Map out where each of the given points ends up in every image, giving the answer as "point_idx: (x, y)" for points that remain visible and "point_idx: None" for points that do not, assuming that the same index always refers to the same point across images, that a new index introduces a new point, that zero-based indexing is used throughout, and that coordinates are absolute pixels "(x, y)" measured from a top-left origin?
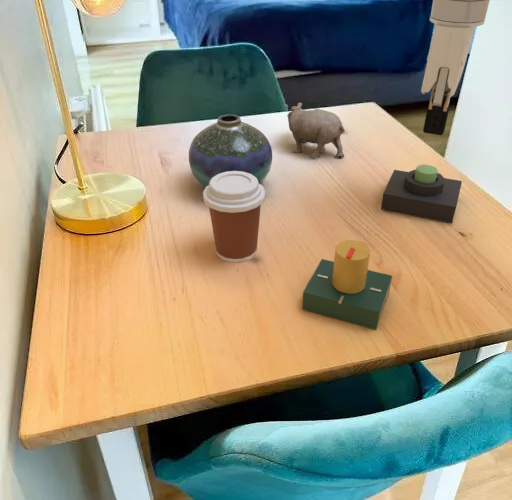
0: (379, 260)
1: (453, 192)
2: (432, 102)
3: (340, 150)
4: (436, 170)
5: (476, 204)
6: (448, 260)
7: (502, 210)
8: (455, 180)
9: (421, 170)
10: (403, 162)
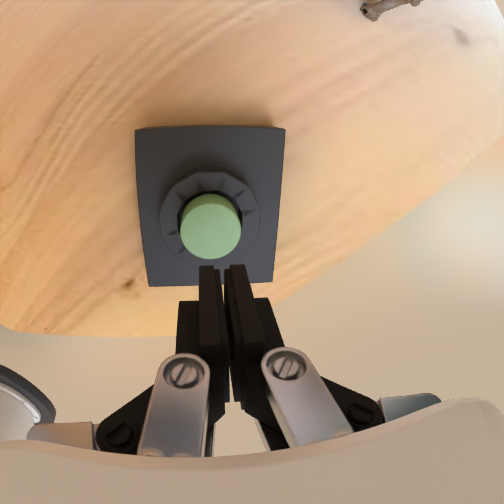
0: (3, 185)
1: None
2: (104, 425)
3: (375, 8)
4: (211, 256)
5: None
6: (53, 274)
7: None
8: (269, 271)
9: (195, 220)
10: (386, 144)
